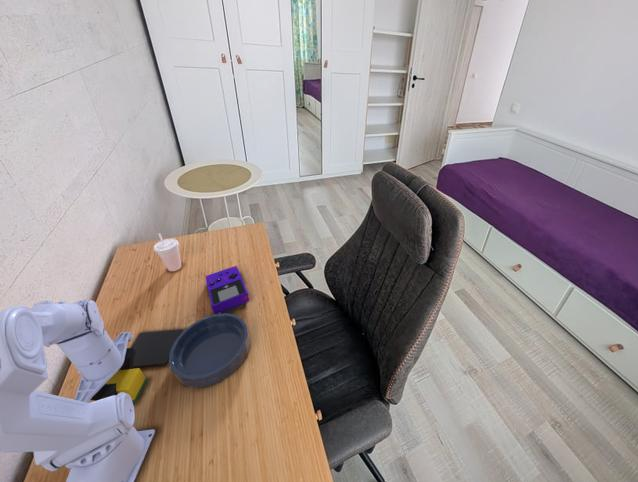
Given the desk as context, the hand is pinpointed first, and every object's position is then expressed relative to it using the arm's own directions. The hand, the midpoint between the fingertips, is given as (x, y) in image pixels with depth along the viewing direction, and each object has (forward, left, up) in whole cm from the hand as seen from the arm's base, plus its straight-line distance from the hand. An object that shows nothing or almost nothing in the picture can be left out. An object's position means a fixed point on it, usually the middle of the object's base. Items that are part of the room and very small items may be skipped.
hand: (121, 389), depth 60 cm
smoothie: (+39, +6, -2) cm, 39 cm away
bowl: (+7, -16, -1) cm, 18 cm away
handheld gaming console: (+26, -14, -2) cm, 30 cm away
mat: (+10, -1, -1) cm, 10 cm away
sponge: (0, 0, -1) cm, 1 cm away
